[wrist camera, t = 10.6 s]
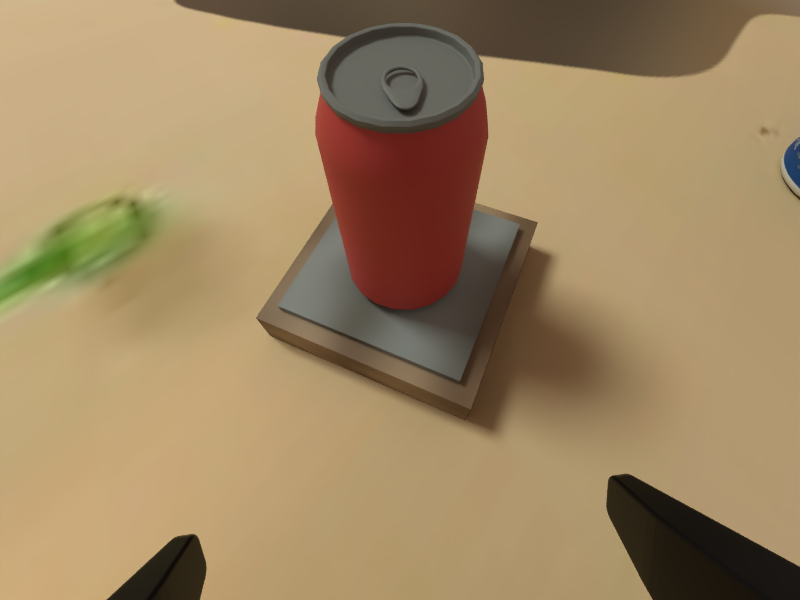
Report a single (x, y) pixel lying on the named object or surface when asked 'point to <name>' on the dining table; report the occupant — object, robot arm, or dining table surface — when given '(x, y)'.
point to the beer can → (402, 156)
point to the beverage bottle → (792, 166)
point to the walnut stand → (404, 313)
